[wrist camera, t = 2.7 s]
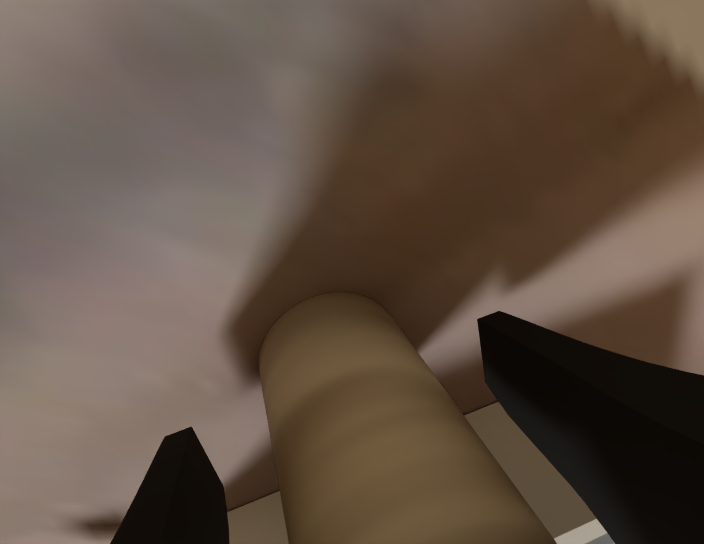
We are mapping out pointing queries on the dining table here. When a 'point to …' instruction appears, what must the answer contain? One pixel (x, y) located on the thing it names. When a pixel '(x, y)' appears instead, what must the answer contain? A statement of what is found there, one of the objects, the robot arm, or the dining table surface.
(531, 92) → the dining table surface
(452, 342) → the dining table surface
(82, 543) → the dining table surface
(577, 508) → the box
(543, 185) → the dining table surface
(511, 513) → the peg
